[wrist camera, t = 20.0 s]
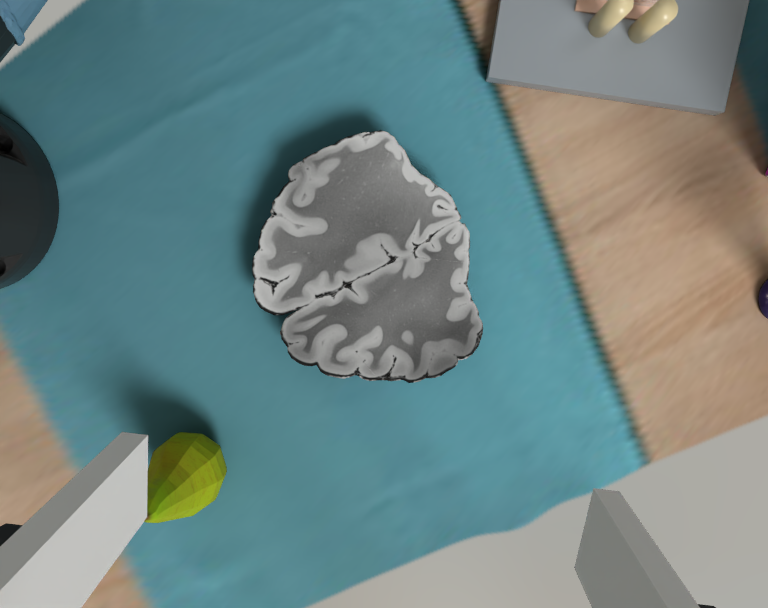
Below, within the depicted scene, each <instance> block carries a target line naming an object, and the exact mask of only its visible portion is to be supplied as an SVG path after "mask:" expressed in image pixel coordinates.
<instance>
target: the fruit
mask: <svg viewBox="0 0 768 608" xmlns="http://www.w3.org/2000/svg"><path fill="white" fill-rule="evenodd" d="M226 472H227V467H226V464H225V461H224V457H223V454H222V451H221V448H220V445H218V444H217V443H215V442H214V441H212V440H211V439H209V438H208V437H207V436H205V435H204V434H198V433H185V432H179V433H177V434H175V435H174V436H172V437H171V438H170V439H168V440H167V441H166V442H164V443H163V444H162V445H161V446H159V447H158V448H157V449H156V450H155V451H154V452H153V454H152V458H151V461H150V465H149V468H148V485H147V518H146V519H145V521H144V522H148V523H159V522H164V521H169V520H174V519H179V518H184V517H189V516H193V515H194V514H196V513H197V512H199V511H200V510H202V509H203V508H204V507H206V506H207V505H209V504H210V503H211V502H213V501H214V500H215V499H216V497H217V495H218V493H219V490H220V488H221V485H222V483H223V480H224V477H225V475H226Z"/></svg>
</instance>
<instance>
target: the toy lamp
mask: <svg viewBox="0 0 768 608" xmlns="http://www.w3.org/2000/svg"><path fill="white" fill-rule="evenodd" d="M759 306H760V309H761V311H762V313H763V314H764V316H765V317H766V318H768V280H767V281H766V282H765V283H764V284H763V286H762V287H761V290H760V293H759Z"/></svg>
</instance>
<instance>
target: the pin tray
mask: <svg viewBox="0 0 768 608" xmlns="http://www.w3.org/2000/svg"><path fill="white" fill-rule="evenodd" d="M748 4H749V0H659V1H657V2H656V3H655V4H654V5H653V6H652V7H646V6H640V5H634V0H608V1H606V0H499V4H498V10H497V16H496V22H495V28H494V34H493V40H492V46H491V52H490V58H489V65H488V71H487V77H486V82H492V83H499V84H506V85H513V86H519V87H526V88H533V89H539V90H546V91H553V92H560V93H566V94H573V95H580V96H587V97H593V98H600V99H607V100H613V101H620V102H627V103H634V104H640V105H647V106H654V107H660V108H667V109H674V110H681V111H687V112H694V113H701V114H708V115H714V116H715V115H718V114H721V113H723V112H725V107H726V103H727V98H728V94H729V89H730V85H731V80H732V76H733V71H734V67H735V62H736V58H737V53H738V49H739V44H740V40H741V35H742V31H743V27H744V22H745V18H746V13H747V9H748Z"/></svg>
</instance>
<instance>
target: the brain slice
mask: <svg viewBox="0 0 768 608" xmlns="http://www.w3.org/2000/svg"><path fill="white" fill-rule="evenodd" d="M288 178H289V182H288V183H287V184H286V185H285V186H284V187H283V188H282V190H281V192H280V193H279V195H278V196H277V197H276V199H275V200H274V201H273V203H272V209H271V214H272V215H271V217H270V218H269V219H268V220H267V221H266V222H265V224H264V225H263V227H262V229H261V233H260V237H259V246H258V251H257V252H256V254H255V255H254V257H253V265H252V270H253V276H254V279H255V281H254V285H253V293H254V296H255V300H256V302H257V304H258V305H259V307H260V308H261V309H263V310H264V311H266V312H268V313H271V314H273V315H284V314H287V313H290V312H292V311H294V310H296V309H299V310H297V311H296V312H294V313H292V314H290V315H289V316H288V317H287V318H286V319H285V321H284V323H283V325H282V328H281V331H280V334H281V337H282V338H281V339H282V340H283V342H284V343H285V344H286V346H287V347H288V353H289V355H290V357H291V358H292V359H294V360H295V361H296V362H298V363H300V364H302V365H304V366H314V365H317V366H318V368H319V370H320V371H321V372H322V373H324V374H325V375H328V376H332V377H337V378H348V377H351V376H354V375H357V376H359V377H361V378H362V379H365V380H369V381H374V380H388V381H396V380H404V381H406V382H408V383H413V382H418V381H420V380H423V379H425V378H436V377H438V376H441V375H443V374H444V373H445V372H447V371H449V370H450V369H452V368H454V367H455V366H456V365H457V363H458V360H462V359H466V358H468V357H469V356H470V355H472V354H473V353H474V351H475V350H476V349H477V347H478V346H479V343H480V340H481V337H482V333H483V324H482V321H481V319H480V318H479V312H478V309H477V307H476V305H475V304H474V302H473V300H472V298H471V295H470V292H469V289H468V286H467V280H468V273H469V252H468V251H469V248H470V234H469V231H468V229H467V227H466V225H465V224H462V223H461V222H459V220H460V219H461V215H460V214H459V212H458V210H457V207H456V205H455V203H454V201H453V199H452V197H451V195H450V194H449V193H447V192H446V191H445V190H444V189H442V188H440V187H438V186H437V185H436V184H435V183H433V182H432V181H431V180H430V179H429V178H427V177H426V176H424V175H422V174H420V173H419V172H418V171H417V170H416V168H415V167H414V166H412V165H411V163H410V160H409V158H408V156H407V154H406V151H405V150H404V149H403V148H402V147H401V146H400V145H399V144H398V142H397V141H396V139H395V137H393V136H392V135H391V134H389V133H388V132H385V131H381V130H380V131H374V132H364V133H360V134H356V135H352V136H348V137H346V138H344V139H341V140H339V141H338V142H337V143H335V144H333V145H331V146H328V147H326V148H324V149H321V150H319V151H317V152H315V153H313V154H311V155H309V156H307V157H305V158H304V159H303V161H301V162H298V163H296V164H294V165H293V166H292V167H291V169H290V170H289V171H288Z"/></svg>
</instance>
